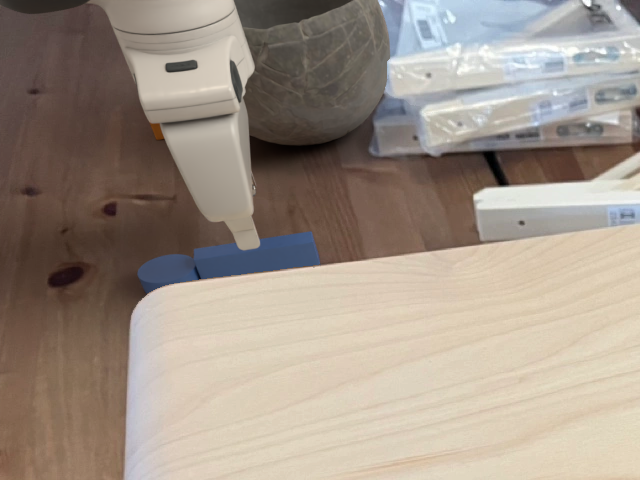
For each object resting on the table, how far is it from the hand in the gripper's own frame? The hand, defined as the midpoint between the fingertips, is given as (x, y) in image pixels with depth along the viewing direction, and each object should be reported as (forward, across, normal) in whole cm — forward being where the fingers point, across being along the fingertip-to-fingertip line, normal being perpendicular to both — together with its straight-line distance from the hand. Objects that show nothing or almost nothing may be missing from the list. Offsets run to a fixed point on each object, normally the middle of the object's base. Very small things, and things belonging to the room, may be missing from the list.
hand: (248, 218), depth 88 cm
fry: (+5, -37, -9) cm, 38 cm away
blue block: (+5, 0, -3) cm, 6 cm away
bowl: (+5, -28, +6) cm, 29 cm away
